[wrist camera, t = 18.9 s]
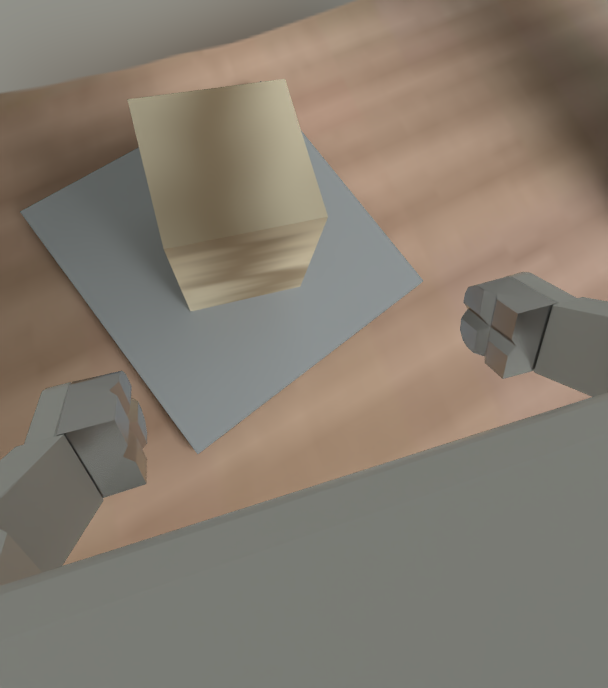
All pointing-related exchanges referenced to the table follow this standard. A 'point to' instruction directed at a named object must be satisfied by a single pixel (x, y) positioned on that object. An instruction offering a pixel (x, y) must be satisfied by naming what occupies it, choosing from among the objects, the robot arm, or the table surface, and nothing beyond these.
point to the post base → (222, 320)
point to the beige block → (230, 189)
